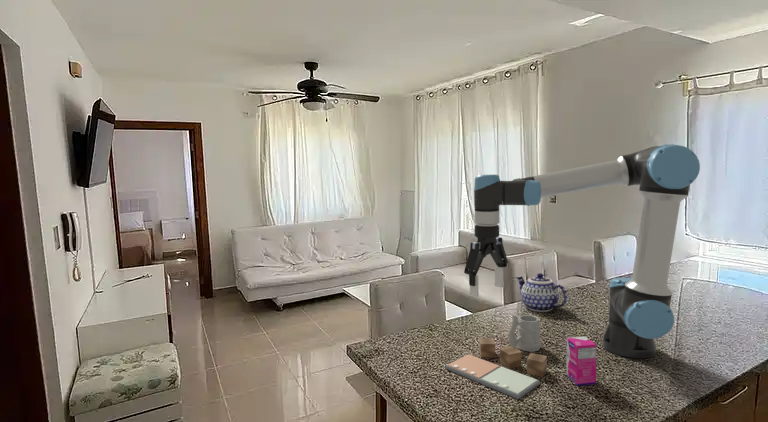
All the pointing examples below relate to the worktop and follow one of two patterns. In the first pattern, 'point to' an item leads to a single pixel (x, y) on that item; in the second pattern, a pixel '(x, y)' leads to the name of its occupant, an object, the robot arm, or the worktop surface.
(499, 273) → the robot arm
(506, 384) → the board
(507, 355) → the walnut block
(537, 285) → the teapot
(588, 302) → the worktop surface
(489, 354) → the walnut block
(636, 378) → the worktop surface
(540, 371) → the walnut block
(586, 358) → the supplement box
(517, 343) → the mug
